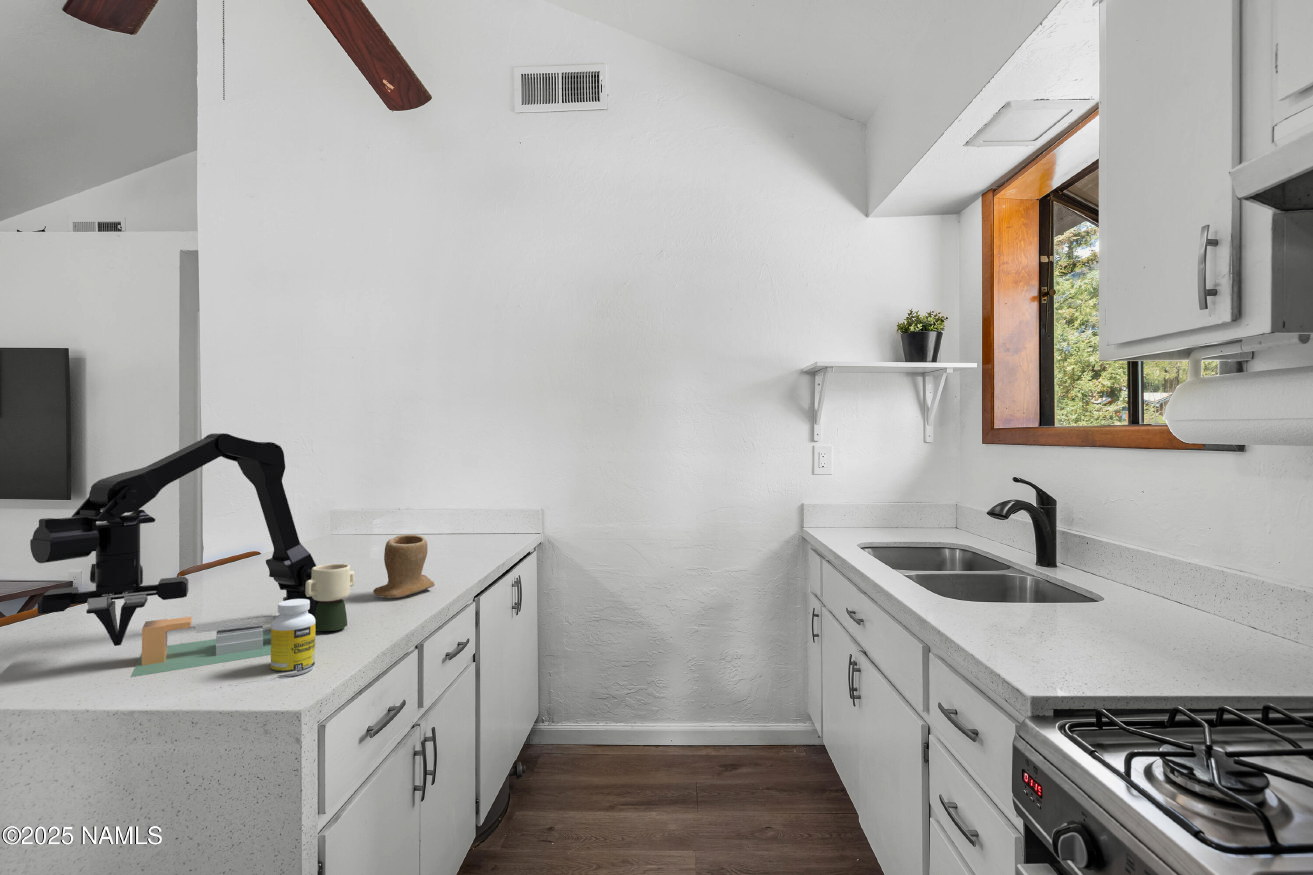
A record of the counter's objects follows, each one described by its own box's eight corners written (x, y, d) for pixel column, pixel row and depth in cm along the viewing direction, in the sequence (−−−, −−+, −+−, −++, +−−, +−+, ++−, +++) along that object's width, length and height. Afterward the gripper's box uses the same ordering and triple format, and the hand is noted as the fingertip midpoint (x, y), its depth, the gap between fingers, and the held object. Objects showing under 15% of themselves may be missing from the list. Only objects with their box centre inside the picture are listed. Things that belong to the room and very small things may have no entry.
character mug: (342, 621, 134) (342, 560, 134) (365, 625, 131) (365, 563, 131) (293, 635, 124) (294, 570, 125) (317, 640, 121) (318, 573, 121)
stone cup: (400, 603, 149) (400, 541, 149) (366, 598, 154) (366, 537, 154) (447, 590, 162) (447, 532, 162) (414, 585, 168) (414, 529, 168)
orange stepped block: (191, 650, 112) (192, 615, 112) (189, 658, 108) (190, 622, 108) (145, 656, 109) (145, 621, 109) (141, 665, 105) (142, 628, 105)
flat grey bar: (284, 619, 120) (284, 613, 120) (285, 624, 117) (285, 618, 117) (196, 629, 112) (196, 622, 112) (195, 634, 109) (195, 627, 109)
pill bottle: (283, 681, 101) (283, 609, 101) (262, 673, 104) (263, 603, 104) (323, 668, 106) (323, 600, 106) (302, 661, 110) (302, 595, 110)
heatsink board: (290, 633, 126) (290, 600, 126) (296, 656, 112) (296, 620, 112) (143, 654, 113) (143, 618, 113) (130, 683, 100) (131, 642, 100)
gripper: (190, 540, 117) (190, 623, 117) (54, 550, 106) (54, 641, 106) (186, 549, 107) (186, 640, 107) (36, 561, 97) (36, 661, 97)
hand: (118, 644), depth 105 cm, fingers closed
